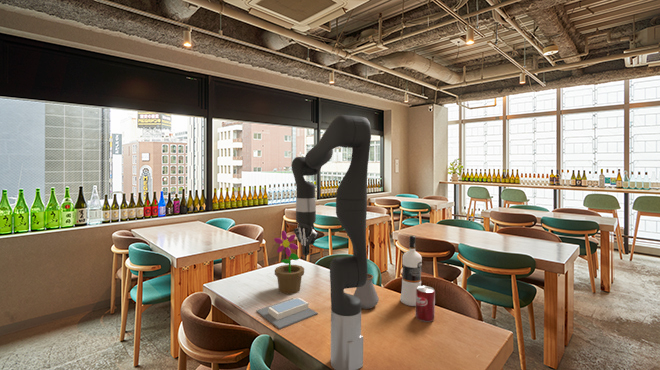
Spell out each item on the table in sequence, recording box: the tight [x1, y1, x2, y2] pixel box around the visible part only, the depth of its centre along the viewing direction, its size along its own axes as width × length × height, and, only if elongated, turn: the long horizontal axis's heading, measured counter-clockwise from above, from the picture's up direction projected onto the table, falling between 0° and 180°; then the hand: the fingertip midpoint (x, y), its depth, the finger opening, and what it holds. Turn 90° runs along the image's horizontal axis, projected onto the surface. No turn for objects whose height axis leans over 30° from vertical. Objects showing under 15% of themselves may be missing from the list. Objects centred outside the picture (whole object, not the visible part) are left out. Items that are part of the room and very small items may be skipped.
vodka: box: [399, 235, 423, 307], centre depth 138 cm, size 9×9×30 cm
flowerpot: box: [273, 230, 305, 295], centre depth 150 cm, size 14×14×30 cm
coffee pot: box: [353, 273, 380, 310], centre depth 138 cm, size 21×12×15 cm, turn 58°
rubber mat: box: [256, 297, 318, 330], centre depth 128 cm, size 18×18×1 cm
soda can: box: [414, 285, 436, 323], centre depth 124 cm, size 7×7×12 cm
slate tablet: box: [268, 297, 309, 320], centre depth 128 cm, size 7×3×15 cm
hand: (305, 254), depth 119 cm, fingers closed
